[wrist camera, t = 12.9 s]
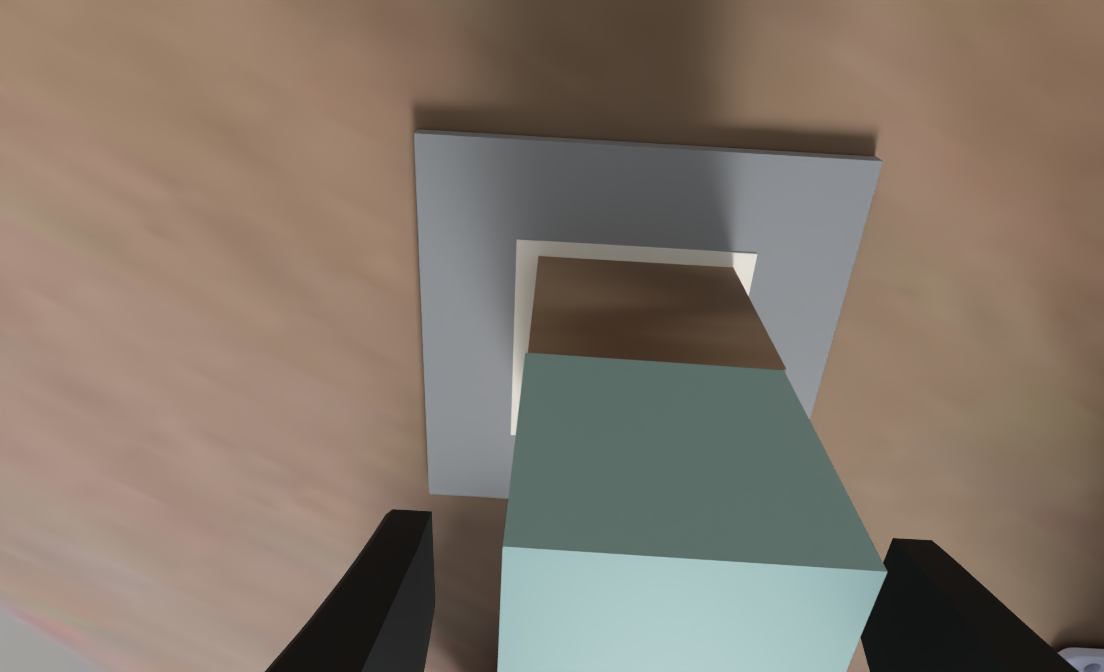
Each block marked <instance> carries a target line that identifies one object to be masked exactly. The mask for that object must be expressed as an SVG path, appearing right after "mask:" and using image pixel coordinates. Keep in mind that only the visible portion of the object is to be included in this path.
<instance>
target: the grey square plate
mask: <svg viewBox="0 0 1104 672" xmlns="http://www.w3.org/2000/svg"><path fill="white" fill-rule="evenodd" d="M414 146H415V170H416V194H417V218H418V242H419V266H420V290H421V314H422V338H423V362H424V386H425V410H426V434H427V458H428V482H429V494H437V495H455V496H472V497H489V498H507V499H508V496H509V488H510V479H511V471H512V462H513V453H514V445H515V436H516V428H517V419H518V411H519V402H520V394H521V385H522V376H523V368H524V359H525V353H528V346H529V337H530V328H531V319H532V310H533V301H534V292H535V283H536V274H537V265H538V256H547V257H564V258H581V259H598V260H615V261H632V262H649V263H666V264H683V265H700V266H717V267H733V268H734V270H735V272H736V273H737V275H738V277H739V279H740V281H741V283H742V285H743V287H744V289H745V291H746V293H747V295H748V296H749V298H750V300H751V302H752V304H753V306H754V308H755V310H756V312H757V314H758V316H759V318H760V319H761V321H762V323H763V325H764V327H765V329H766V331H767V333H768V335H769V337H770V339H771V341H772V342H773V344H774V346H775V348H776V350H777V352H778V354H779V356H780V358H781V360H782V362H783V363H784V365H785V367H786V375H787V377H788V379H789V381H790V383H791V385H792V387H793V389H794V391H795V393H796V395H797V397H798V399H799V401H800V403H801V405H802V406H803V408H804V410H805V412H806V414H807V416H808V418H809V420H810V417H811V414H812V410H813V407H814V403H815V400H816V396H817V393H818V389H819V386H820V382H821V379H822V375H823V372H824V368H825V364H826V361H827V357H828V354H829V350H830V347H831V343H832V340H833V336H834V333H835V329H836V326H837V322H838V319H839V315H840V312H841V308H842V305H843V301H844V298H845V294H846V290H847V287H848V283H849V280H850V276H851V273H852V269H853V266H854V262H855V259H856V255H857V252H858V248H859V245H860V241H861V238H862V234H863V231H864V227H865V223H866V220H867V216H868V213H869V209H870V206H871V202H872V199H873V195H874V192H875V188H876V185H877V181H878V178H879V174H880V171H881V167H882V164H883V161H882V160H880V159H879V158H877V157H875V156H858V155H841V154H825V153H808V152H791V151H774V150H758V149H741V148H724V147H708V146H691V145H674V144H657V143H641V142H624V141H607V140H590V139H574V138H557V137H540V136H523V135H507V134H490V133H473V132H457V131H440V130H423V129H417V130H416V132H415V133H414Z"/></svg>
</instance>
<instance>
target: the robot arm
mask: <svg viewBox="0 0 1104 672" xmlns="http://www.w3.org/2000/svg"><path fill="white" fill-rule="evenodd" d="M883 564H884V566H885V568H886V570H887V574H886V577H885V579H884V582H883V584H882V586H881V589H880V591H879V593H878V596H877V598H876V601H875V603H874V605H873V608H872V610H871V613H870V615H869V617H868V620H867V622H866V625H865V627H864V629H863V632H862V634H861V640H862V644H863V648H864V652H865V655H866V659H867V663H868V666H869V670H870V672H1104V649H1094V648H1076V647H1073V648H1066V649H1063V650H1061V651H1059V652H1058V653H1057V652H1056V651H1055V650H1054V649H1053V648H1052V647H1050V646H1049V645H1048V644H1047V643H1046V642H1045V641H1044V640H1043V639H1041V638H1040V637H1039V636H1038V635H1037V634H1036V633H1035V632H1034V631H1032V630H1031V629H1030V628H1029V627H1028V626H1027V625H1026V624H1025V623H1024V622H1022V621H1021V620H1020V619H1019V618H1018V617H1017V616H1016V615H1015V614H1014V613H1013V612H1011V611H1010V610H1009V609H1008V608H1007V607H1006V606H1005V605H1004V604H1003V603H1002V602H1000V601H999V600H998V599H997V598H996V597H995V596H994V595H993V594H992V593H991V592H990V591H988V590H987V589H986V588H985V587H984V586H983V585H982V584H981V583H980V582H979V581H977V580H976V579H975V578H974V577H973V576H972V575H971V574H970V573H969V572H968V571H966V570H965V569H964V568H963V567H962V566H961V565H960V564H959V563H958V562H956V561H955V560H954V559H953V558H952V557H951V556H950V555H948V554H947V553H946V552H945V551H944V550H943V549H942V548H940V547H939V546H938V545H937V544H936V543H934V542H933V541H932V540H916V539H898V538H893V539H892V542H891V544H890V547H889V549H888V552H887V555H886V557H885V560H884V562H883ZM434 608H435V584H434V559H433V534H432V512H429V511H412V510H395V509H393V510H391V511H390V512H389V513H387V514H386V515H385V517H384V518H383V520H382V521H381V523H380V525H379V526H378V528H377V529H376V531H375V532H374V534H373V535H372V537H371V538H370V540H369V541H368V543H367V544H366V545H365V547H364V548H363V550H362V551H361V553H360V554H359V555H358V557H357V558H356V560H355V561H354V562H353V564H352V565H351V566H350V568H349V569H348V571H347V572H346V573H345V575H344V576H343V577H342V579H341V580H340V581H339V583H338V584H337V585H336V586H335V588H334V589H333V590H332V592H331V593H330V594H329V595H328V597H327V598H326V599H325V601H324V602H323V603H322V604H321V606H320V607H319V608H318V609H317V611H316V612H315V613H314V615H313V616H312V617H311V618H310V620H309V621H308V622H307V623H306V624H305V626H304V627H303V628H302V629H301V630H300V632H299V633H298V634H297V635H296V636H295V637H294V639H293V640H292V641H291V642H290V643H289V644H288V645H287V647H286V648H285V649H284V650H283V651H282V652H281V654H280V655H279V656H278V657H277V658H276V659H275V660H274V662H273V663H272V664H271V665H270V666H269V667H268V669H267V670H266V671H265V672H424V668H425V663H426V657H427V651H428V645H429V639H430V633H431V627H432V620H433V614H434Z"/></svg>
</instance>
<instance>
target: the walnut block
mask: <svg viewBox="0 0 1104 672" xmlns="http://www.w3.org/2000/svg"><path fill="white" fill-rule="evenodd" d="M528 353H539V354H553V355H568V356H583V357H597V358H612V359H627V360H641V361H656V362H671V363H685V364H700V365H715V366H729V367H744V368H759V369H773V370H784V371H785V373H786V367H785V365H784V363H783V362H782V360H781V358H780V356H779V354H778V352H777V350H776V348H775V346H774V344H773V342H772V341H771V339H770V337H769V335H768V333H767V331H766V329H765V327H764V325H763V323H762V321H761V319H760V318H759V316H758V314H757V312H756V310H755V308H754V306H753V304H752V302H751V300H750V298H749V296H748V295H747V293H746V291H745V289H744V287H743V285H742V283H741V281H740V279H739V277H738V275H737V273H736V272H735V270H734V268H733V267H717V266H700V265H683V264H666V263H649V262H632V261H615V260H598V259H581V258H564V257H547V256H538V265H537V274H536V283H535V292H534V301H533V310H532V319H531V328H530V337H529V346H528Z"/></svg>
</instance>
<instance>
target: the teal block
mask: <svg viewBox="0 0 1104 672" xmlns="http://www.w3.org/2000/svg"><path fill="white" fill-rule="evenodd" d="M886 574H887V570H886V568H885V566H884V564H883V562H882V560H881V558H880V556H879V554H878V552H877V550H876V548H875V546H874V544H873V543H872V541H871V539H870V537H869V535H868V533H867V531H866V529H865V527H864V525H863V523H862V521H861V519H860V517H859V515H858V513H857V511H856V509H855V508H854V506H853V504H852V502H851V500H850V498H849V496H848V494H847V492H846V490H845V488H844V486H843V484H842V482H841V480H840V478H839V476H838V475H837V473H836V471H835V469H834V467H833V465H832V463H831V461H830V459H829V457H828V455H827V453H826V451H825V449H824V447H823V445H822V443H821V441H820V440H819V438H818V436H817V434H816V432H815V430H814V428H813V426H812V424H811V422H810V420H809V418H808V416H807V414H806V412H805V410H804V408H803V406H802V405H801V403H800V401H799V399H798V397H797V395H796V393H795V391H794V389H793V387H792V385H791V383H790V381H789V379H788V377H787V375H786V373H785V371H784V370H773V369H759V368H744V367H729V366H715V365H700V364H685V363H671V362H656V361H641V360H627V359H612V358H597V357H583V356H568V355H553V354H539V353H525V359H524V368H523V376H522V385H521V394H520V402H519V411H518V419H517V428H516V436H515V445H514V453H513V462H512V471H511V479H510V488H509V496H508V505H507V513H506V522H505V531H504V539H503V550H502V574H501V598H500V622H499V646H498V670H497V672H846V670H847V668H848V665H849V663H850V661H851V658H852V656H853V653H854V651H855V649H856V646H857V644H858V641H859V639H860V637H861V634H862V632H863V629H864V627H865V625H866V622H867V620H868V617H869V615H870V613H871V610H872V608H873V605H874V603H875V601H876V598H877V596H878V593H879V591H880V589H881V586H882V584H883V582H884V579H885V577H886Z"/></svg>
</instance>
